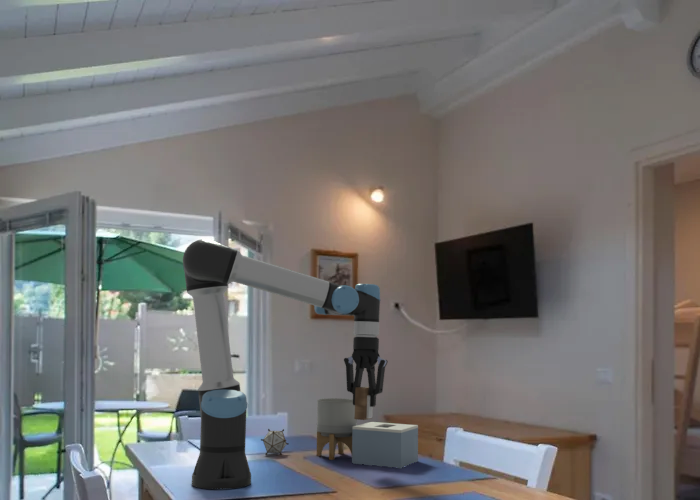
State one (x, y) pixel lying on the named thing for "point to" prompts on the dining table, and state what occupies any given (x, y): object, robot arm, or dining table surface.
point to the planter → (335, 424)
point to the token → (361, 403)
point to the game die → (274, 441)
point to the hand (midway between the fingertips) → (363, 417)
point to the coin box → (385, 444)
